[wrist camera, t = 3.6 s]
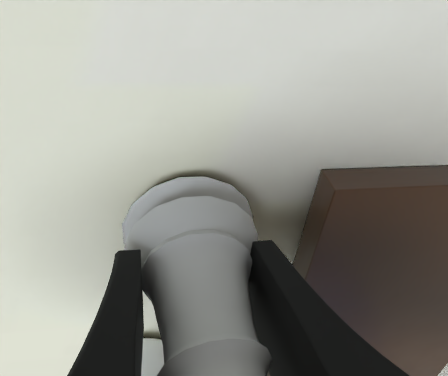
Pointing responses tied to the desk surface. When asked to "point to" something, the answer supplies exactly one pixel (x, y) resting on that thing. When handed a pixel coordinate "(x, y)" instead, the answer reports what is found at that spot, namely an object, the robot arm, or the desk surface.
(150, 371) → the drinking glass
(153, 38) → the desk surface
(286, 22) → the desk surface
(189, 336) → the rook chess piece
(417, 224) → the walnut board
